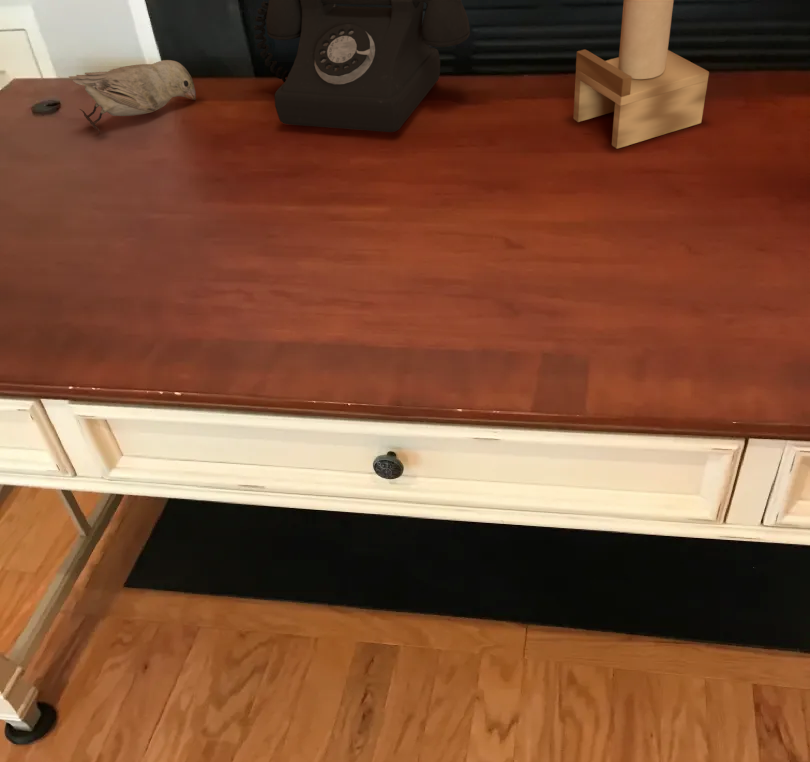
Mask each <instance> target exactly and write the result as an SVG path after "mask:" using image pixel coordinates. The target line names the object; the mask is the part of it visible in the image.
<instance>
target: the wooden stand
mask: <svg viewBox="0 0 810 762" xmlns="http://www.w3.org/2000/svg"><path fill="white" fill-rule="evenodd" d="M618 64H619V56H618V57H614V58H610V59H607V60H605V59H602V58H601V57H599V56H597V55H596V54H594V53H592V52H591V51H589V50H587V49H581V50H578V51H576V60H575V78H574V99H573V118H572V119H573V120H574V121H576V122H577V123H580V122H583V121H584V122H585V121H588V120H590V119H593V118H597V117H601V116H604V115H607V114H610V113H613V122H612V134H611V135H612V136H611V146H612V147H613V148H615V149H622V148H625V147H628V146H630V145H634V144H637V143H641V142H644V141H647V140H651V139H653V138H656V137H660V136H663V135H666V134H669V133H673V132H676V131H680V130H683V129H687V128H689V127H694V126H696V125H699V124H702V120H703V115H704V107H705V103H706V102H705V100H706V95H707V89H708V82H709V76H710V71H708V70H707V69H705V68H703V67H701V66H700V65H698V64H696V63H693V62H691V61H690V60H689V59H687V58H684V57H682V56H680V55H679V54H677V53H674V52H673V51H671V50H670V49H668V52H667V60H666V67H665V71H664V72H663V73H662V74H661V75H659V76H657V77H654V78H649V79H632V77H631V76H630V75H628V74H626V73H625V72H623V71H621V70H620V69H618Z"/></svg>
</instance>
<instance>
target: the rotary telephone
mask: <svg viewBox="0 0 810 762" xmlns="http://www.w3.org/2000/svg"><path fill="white" fill-rule="evenodd" d="M424 3H425V4H426V7H425V11H424V5H425V4H424ZM260 5H261V7H258V8H257V14H258V15H257V16H255V18H254V21H255V22H258V23H261V24H260V25H258V24H256V25H254V26H253V27H254V30H255V31H261V32H260V33H256V34H254V39H255V40H261V41H260V42H258V43H257V44H256V48H257V49H258V50H261V52H260V53H259V56H260V57H261V58H262V59H265V60H264V65H265V66H266V67H269V71H270V73H271V74H274V75H275V77H276V78H277V79H278V80H282V82H283V83H282V85H280V86H279V87H278V88H277V89H276V91H275V92H274V107H275V110H276V114H277V116H278V119H279V121H280V122H281V123H282V124H283V125H290V126H291V125H292V126H303V127H316V128H329V129H345V130H357V131H370V132H384V133H395V132H397V131H399V130H400V129H401V128H402V126H403V125H404V124H405V123H406V121H407V120H409V117H410V116H411V115H412V114H413V112H414V111H415V110H416V109H417V108H418V106H419V105H420V104H421V102H422V101H423V100H424V98H425V97H426V96H427V94H428V93H429V92H430V91H431V89H433V87H434V86H435V85H436V83H437V82H438V81H439V78H440V76H441V59H440V52H439V50H438V49H437V48H448V47H452V46H457V45H460V44H462V43H463V42H465V41H466V40H467V39H468V38H469V37H470V34H471V31H470V29H471V27H470V22H469V17H468V15H467V11H466V9H465V7H464V5H463V2H462V0H268V2H267V1H265V0H263V1H262V2H261V3H260ZM351 5H352V6H351ZM353 5H354V6H353ZM379 6H381V7H379ZM383 6H384V7H383ZM385 6H389V7H385ZM390 6H391V7H390ZM265 26H266V28H264V27H265ZM266 31H267V32H266ZM266 33H267V36H268V37H269V38H270V39H272V40H276V41H289V40H295V39H299V42H298V46H297V47H298V48H297V53H296V56H295V58H294V61H293V65H292V67H291V68H290V70H289V72H288V70H285V71H283V72H282V70H283V66H281V65H280V66H278V67H277V68H275V67H276V65H278V61H277V60H272V58H273V56H274V55H273V54H272V53H271V52H269V50H270V47H269V45H268V44H266V42H267V37H266V36H265V35H266ZM274 68H275V69H274ZM281 72H282V74H281ZM280 74H281V75H280Z"/></svg>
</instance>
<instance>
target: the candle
mask: <svg viewBox="0 0 810 762" xmlns="http://www.w3.org/2000/svg"><path fill="white" fill-rule="evenodd" d="M674 2H675V0H623V2H622V4H623V5H622V17H621V27H620V28H621V29H620V41H619V53H618V57H619V64H618V69H620V70H621V71H623V72H625V73H626V74H628V75H630V76H631V77H632V79H649V78H654V77H657V76H659V75H661V74H662V73H663V72H664V71H665V67H666V60H667V52H668V50H669V45H670V44H669V42H670V36H671V27H672V18H673V17H672V16H673V11H674V10H673V9H674Z"/></svg>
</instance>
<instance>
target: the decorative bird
mask: <svg viewBox="0 0 810 762" xmlns="http://www.w3.org/2000/svg"><path fill="white" fill-rule="evenodd" d="M68 79H70V80H72V82H73V83H75V84H76V85H78V86H79V85H81V86H84V90H85V92H86V93H87V94H88V95H89V96H90V97H91V99H92V100H93V101H94V102H95V103H94V107H93V110H92V111H91V112H90V113H89V114H87V113H86V112H85V111H84V110H83V109H81V108H78V110H79V111H81V112H82V113H83V116H84V118H85V119H86V120H87V121H88V122H89V124H90V125H91V126H92V128H93V129H95V130H97V131H98V133H99V135H101V131H100V129H99V127H97V125H96V124H97V123H99V122H100V121H101V119H102V116H103V115H104V114H105V113H107V114H109V115H111V116H112V117H113V116H114V117H132V116H139V115H146V114H151V113H153V112H156V111H158V110H160V109H162V108H164V107H165V106H166V105H167V104H168V103H169V102H170V101H171V100H172V99H173V98H175V97H183V98H186V99H189V100H192V101H196V100H197V93H196V88H195V82H194V80H193V78H192V76H191V74H190V73H189V71H188V70H187V68H186V67H185V66H184V65H183V64H182V63H180V62H178V61H176V60H171V59H163V60H160V61H156V62H154V63H142V64H141V63H140V64H132V65H126V66H121V67H117V68H113V69H110V70H108V71H95V72H92V71H91V72H84V74H76V75H73V76H72V75H71V76H70V75H69V76H68ZM98 107H100V108H101V110H100V112H99V116H98V118H96V120H95V121H93V120H92V119H91V118H90V117H92V116H93V115H94V114H95V112H96V111H97V108H98Z"/></svg>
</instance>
